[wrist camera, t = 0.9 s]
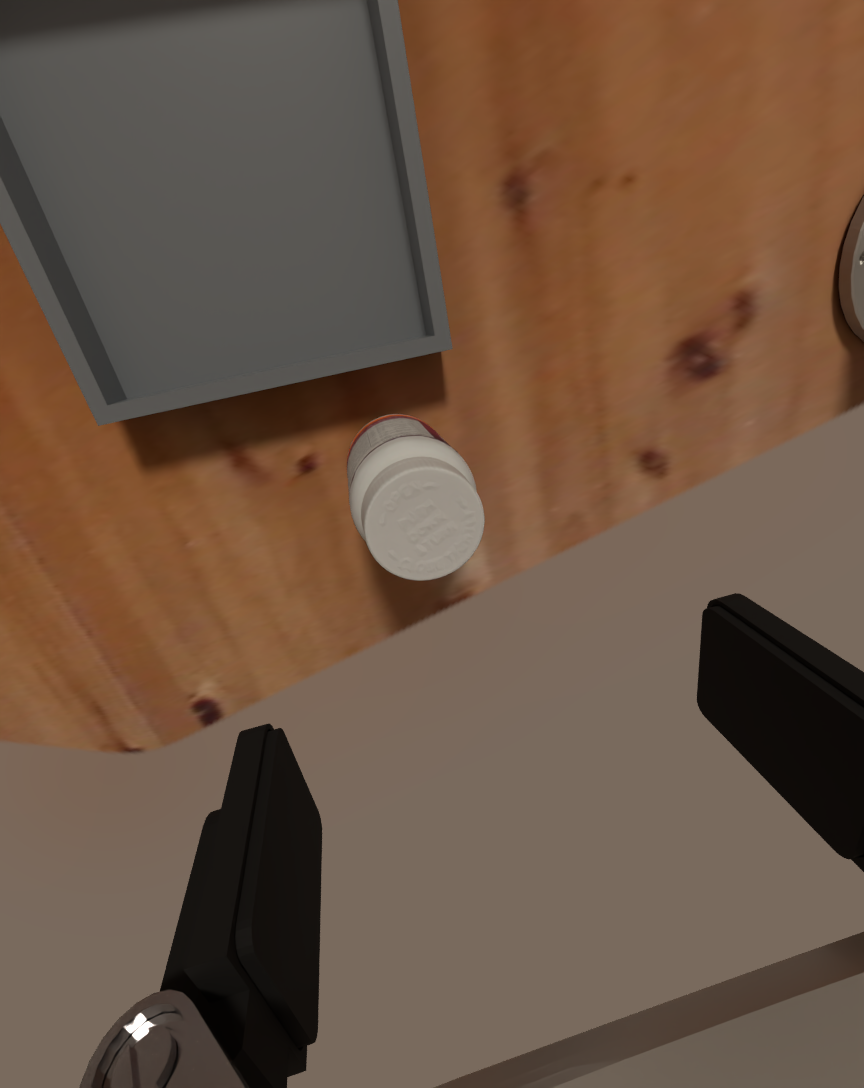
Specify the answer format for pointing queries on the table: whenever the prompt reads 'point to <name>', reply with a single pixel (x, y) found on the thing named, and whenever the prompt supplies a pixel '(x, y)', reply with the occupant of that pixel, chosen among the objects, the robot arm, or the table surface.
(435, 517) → the pill bottle
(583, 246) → the table surface
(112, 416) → the tray
